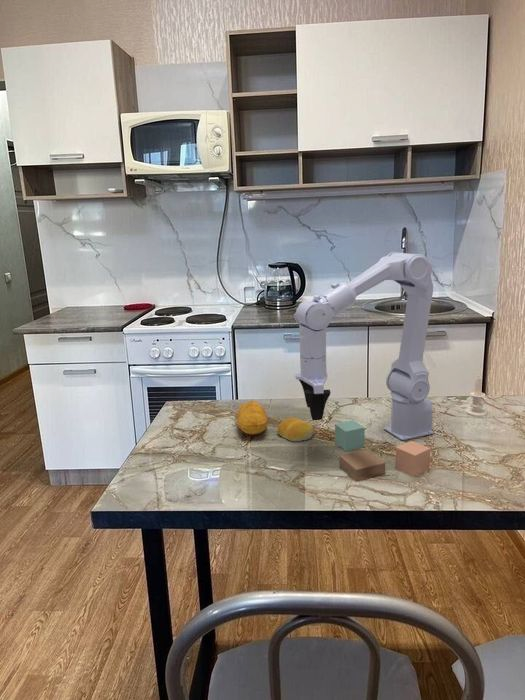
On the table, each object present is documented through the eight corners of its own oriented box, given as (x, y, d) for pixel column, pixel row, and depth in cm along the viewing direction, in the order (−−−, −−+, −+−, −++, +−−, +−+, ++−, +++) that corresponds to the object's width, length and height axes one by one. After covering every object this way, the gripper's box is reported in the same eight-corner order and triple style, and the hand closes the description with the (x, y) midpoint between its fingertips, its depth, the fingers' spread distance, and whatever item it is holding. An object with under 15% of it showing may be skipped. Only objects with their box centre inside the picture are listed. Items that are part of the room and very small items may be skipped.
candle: (463, 409, 143) (466, 373, 140) (483, 409, 142) (486, 373, 139) (468, 416, 138) (470, 379, 135) (489, 417, 137) (492, 379, 134)
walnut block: (367, 461, 116) (367, 449, 116) (385, 475, 110) (385, 462, 109) (339, 468, 114) (339, 455, 113) (356, 482, 108) (356, 469, 107)
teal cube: (353, 439, 127) (353, 420, 126) (364, 447, 123) (364, 427, 122) (335, 443, 126) (335, 423, 124) (345, 451, 121) (345, 431, 120)
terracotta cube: (410, 461, 115) (411, 440, 114) (429, 469, 111) (430, 448, 110) (395, 468, 112) (395, 447, 111) (414, 477, 109) (415, 455, 107)
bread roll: (297, 445, 125) (297, 430, 124) (272, 435, 132) (272, 420, 131) (321, 435, 130) (321, 420, 129) (296, 425, 137) (295, 411, 136)
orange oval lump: (264, 419, 141) (263, 395, 140) (270, 440, 128) (269, 415, 126) (235, 421, 141) (234, 397, 139) (239, 443, 127) (238, 417, 126)
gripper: (291, 348, 122) (293, 402, 125) (299, 366, 108) (301, 427, 111) (321, 346, 122) (322, 400, 126) (333, 364, 108) (333, 424, 112)
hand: (314, 413), depth 119 cm, fingers open, 7 cm apart
